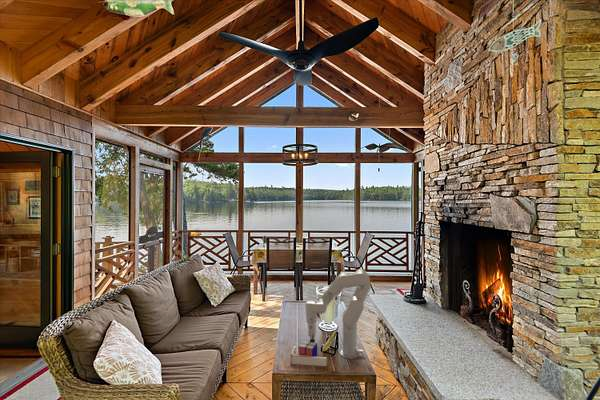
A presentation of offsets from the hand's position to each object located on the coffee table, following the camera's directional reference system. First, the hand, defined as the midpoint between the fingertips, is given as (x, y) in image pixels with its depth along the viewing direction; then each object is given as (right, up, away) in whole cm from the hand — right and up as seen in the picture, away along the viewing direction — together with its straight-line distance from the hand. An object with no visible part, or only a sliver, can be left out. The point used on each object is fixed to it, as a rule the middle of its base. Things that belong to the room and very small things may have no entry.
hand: (312, 344), depth 240 cm
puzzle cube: (-3, -5, -11) cm, 13 cm away
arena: (-2, -5, -11) cm, 12 cm away
